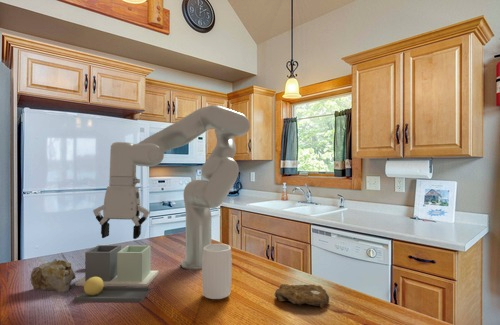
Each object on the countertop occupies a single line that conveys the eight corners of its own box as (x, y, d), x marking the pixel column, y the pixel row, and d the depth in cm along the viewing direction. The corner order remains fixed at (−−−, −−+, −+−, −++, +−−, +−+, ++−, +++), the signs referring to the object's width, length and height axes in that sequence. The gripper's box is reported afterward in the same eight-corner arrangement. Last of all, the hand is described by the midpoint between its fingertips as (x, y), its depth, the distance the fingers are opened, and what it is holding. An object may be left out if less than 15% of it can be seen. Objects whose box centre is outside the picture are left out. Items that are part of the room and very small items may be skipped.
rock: (84, 281, 91) (72, 251, 90) (67, 293, 85) (54, 261, 84) (55, 289, 94) (43, 260, 94) (36, 301, 88) (23, 270, 87)
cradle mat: (151, 290, 88) (151, 286, 88) (141, 303, 80) (141, 299, 80) (87, 290, 88) (87, 285, 88) (71, 303, 80) (71, 298, 80)
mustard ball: (107, 291, 86) (107, 274, 86) (98, 299, 81) (98, 280, 81) (90, 290, 86) (90, 273, 86) (80, 298, 81) (80, 280, 81)
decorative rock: (277, 314, 76) (334, 314, 77) (278, 299, 76) (335, 298, 77) (270, 292, 87) (320, 292, 89) (271, 278, 87) (320, 278, 88)
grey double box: (158, 274, 101) (158, 244, 101) (146, 287, 90) (147, 254, 90) (94, 273, 101) (94, 243, 101) (75, 287, 90) (75, 253, 90)
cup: (198, 293, 86) (199, 245, 86) (226, 288, 90) (226, 242, 90) (206, 306, 78) (206, 253, 78) (235, 300, 82) (236, 249, 82)
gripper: (154, 182, 95) (152, 235, 95) (101, 180, 95) (99, 233, 95) (145, 183, 87) (143, 241, 87) (88, 182, 88) (86, 239, 88)
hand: (120, 237), depth 91 cm, fingers open, 9 cm apart
